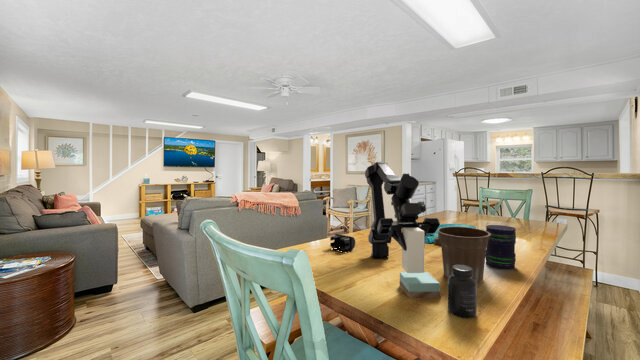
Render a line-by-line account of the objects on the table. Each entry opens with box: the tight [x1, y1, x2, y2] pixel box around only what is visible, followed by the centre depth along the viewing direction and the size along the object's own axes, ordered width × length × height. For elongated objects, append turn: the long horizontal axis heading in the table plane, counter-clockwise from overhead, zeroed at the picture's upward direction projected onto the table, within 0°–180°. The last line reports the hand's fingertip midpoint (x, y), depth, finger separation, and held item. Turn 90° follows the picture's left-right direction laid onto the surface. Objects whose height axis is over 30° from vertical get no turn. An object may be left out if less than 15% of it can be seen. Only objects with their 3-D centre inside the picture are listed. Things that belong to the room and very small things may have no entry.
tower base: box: [399, 280, 442, 300], centre depth 86 cm, size 9×9×2 cm
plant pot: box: [436, 226, 490, 284], centre depth 97 cm, size 16×16×16 cm
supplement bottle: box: [447, 264, 478, 319], centre depth 73 cm, size 7×7×12 cm
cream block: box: [401, 228, 426, 273], centre depth 86 cm, size 5×5×12 cm
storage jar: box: [485, 224, 517, 271], centre depth 108 cm, size 10×10×15 cm
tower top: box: [399, 271, 441, 292], centre depth 86 cm, size 9×9×2 cm
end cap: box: [329, 233, 356, 253], centre depth 132 cm, size 10×7×7 cm
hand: (414, 249), depth 84 cm, fingers closed on cream block, 5 cm apart
